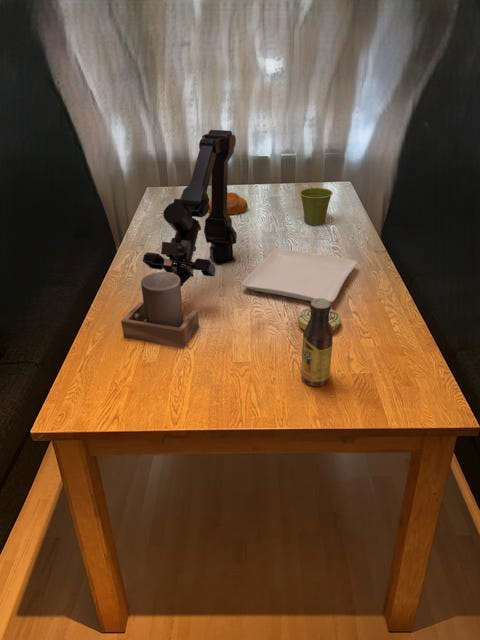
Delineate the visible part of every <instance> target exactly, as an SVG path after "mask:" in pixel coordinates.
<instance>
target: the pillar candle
mask: <svg viewBox="0 0 480 640" xmlns="http://www.w3.org/2000/svg"><path fill="white" fill-rule="evenodd" d="M140 285H141V293H142V301H143V303H144V310H145V317H146V320H145V322H147V323H153V324H159V325H166V326H172V327H178V328H180V327H181V325H182V324H183V322H184V321H185V320H184V309H183V298H182V286H181V285H180V278H179V276H177V275H176V274H174V273H171V272H170V273H169V272H166V271H157V272H156V271H155V272H152V273H149V274H147V275H146V276H144V277H143V278H142V279H141V281H140Z"/></svg>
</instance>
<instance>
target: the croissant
mask: <svg viewBox="0 0 480 640" xmlns="http://www.w3.org/2000/svg"><path fill="white" fill-rule="evenodd" d="M209 206H210V208H209V210H208V212H209V214H210V213H211V200H209ZM247 208H248V201H247V200H246V199H245V198H244V197H241V196H240V195H239V194H237V193H236V192H227V213H228V214H229V215H237V214H241V213H244V212H246V210H247Z"/></svg>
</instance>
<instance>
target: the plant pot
mask: <svg viewBox="0 0 480 640" xmlns="http://www.w3.org/2000/svg"><path fill="white" fill-rule="evenodd" d="M298 193H299V195H300V197H301V201H302V209H303V217H304V222H305V224H306V225H309V226H313V225H315V226H321V225H324V223H325V222H326V217H327V214H328V213H327V212H328V208H329V205H330V201H331V198H332V195H334V194H333V193H334V192H333V191H332V189H331V190H330V189H328V188H325V187H324V188H323V187H309V188H303V189H301V190H300V191H299V192H298Z"/></svg>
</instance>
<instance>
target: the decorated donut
mask: <svg viewBox="0 0 480 640" xmlns="http://www.w3.org/2000/svg"><path fill="white" fill-rule="evenodd" d="M310 316H311V309H310V307H307V308H305V309H302V311H300V312H299V313H298V316H297V323H298V325H299V327H300V329H302V330H303V332H304V331H305V329H306V327H307V325H308V322H309V320H310ZM341 323H342V319H341V316H340V314H339V313H338V312H337V311H336V310H334V309H332V308H331V309H330V311H329V324H330V325H331V327H332V329H333V333H334V332H335V331H336V330H338V327H339V326H340V324H341Z"/></svg>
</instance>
